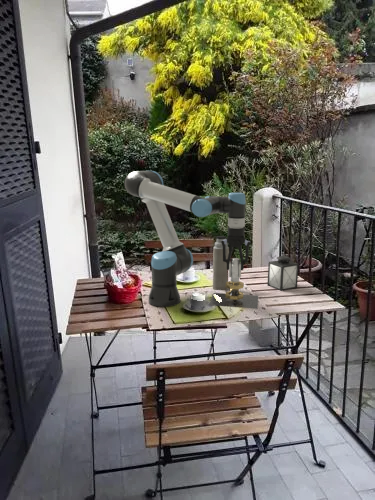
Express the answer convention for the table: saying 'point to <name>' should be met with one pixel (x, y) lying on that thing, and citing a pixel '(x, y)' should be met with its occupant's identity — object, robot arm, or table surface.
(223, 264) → the thermos bottle
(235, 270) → the tube
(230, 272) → the robot arm
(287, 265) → the lantern
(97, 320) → the table surface
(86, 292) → the table surface
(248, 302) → the collar stand
